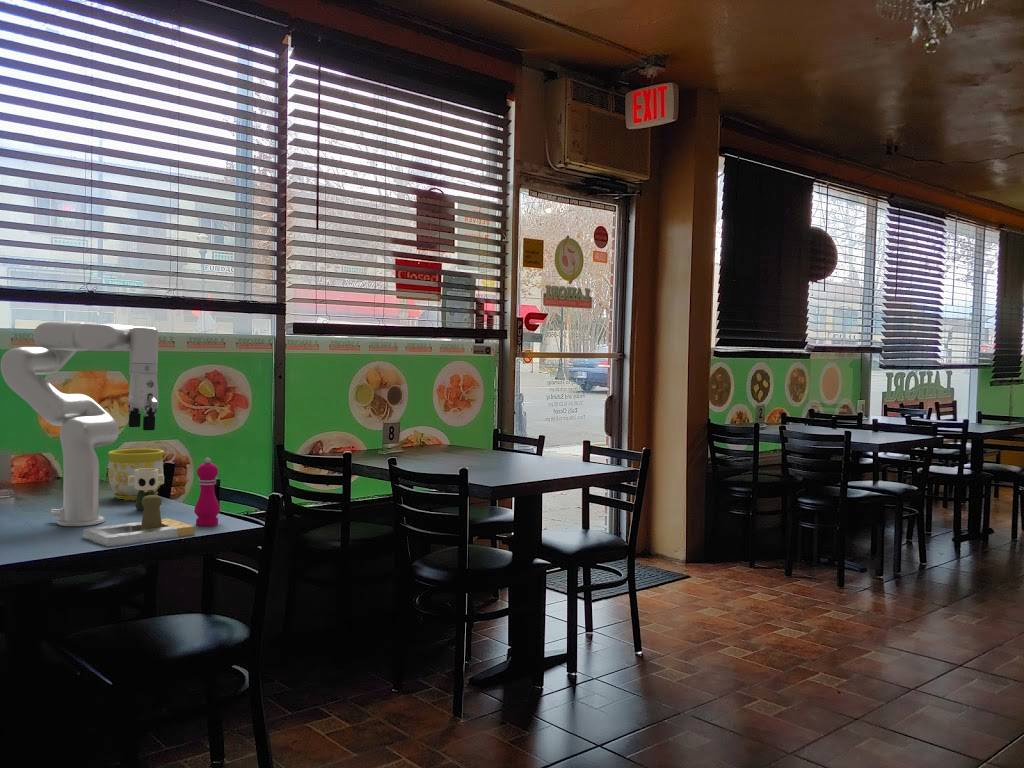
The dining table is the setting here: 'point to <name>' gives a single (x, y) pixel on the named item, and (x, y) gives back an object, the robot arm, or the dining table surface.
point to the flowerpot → (132, 469)
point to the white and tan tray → (137, 532)
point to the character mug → (145, 483)
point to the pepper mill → (207, 495)
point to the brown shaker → (151, 512)
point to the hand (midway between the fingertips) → (141, 428)
